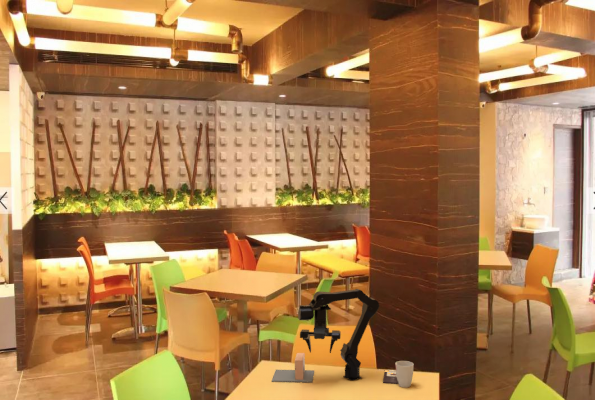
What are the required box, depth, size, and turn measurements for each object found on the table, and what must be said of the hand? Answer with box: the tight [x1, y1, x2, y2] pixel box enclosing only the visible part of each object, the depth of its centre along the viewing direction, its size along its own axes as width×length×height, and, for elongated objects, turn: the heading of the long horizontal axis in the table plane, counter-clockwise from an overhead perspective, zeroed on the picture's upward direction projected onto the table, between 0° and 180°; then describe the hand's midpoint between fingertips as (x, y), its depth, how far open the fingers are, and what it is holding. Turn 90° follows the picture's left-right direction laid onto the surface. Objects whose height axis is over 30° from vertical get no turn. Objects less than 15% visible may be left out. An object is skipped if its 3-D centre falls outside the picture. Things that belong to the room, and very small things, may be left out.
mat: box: [271, 369, 315, 384], centre depth 260 cm, size 19×16×1 cm
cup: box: [395, 360, 414, 388], centre depth 247 cm, size 8×8×10 cm
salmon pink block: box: [294, 352, 306, 380], centre depth 260 cm, size 4×12×9 cm, turn 175°
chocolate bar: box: [382, 369, 399, 385], centre depth 258 cm, size 9×1×18 cm
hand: (320, 352), depth 254 cm, fingers open, 9 cm apart
